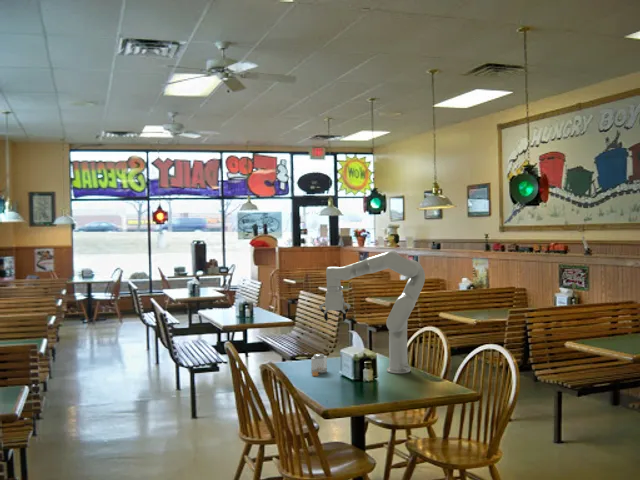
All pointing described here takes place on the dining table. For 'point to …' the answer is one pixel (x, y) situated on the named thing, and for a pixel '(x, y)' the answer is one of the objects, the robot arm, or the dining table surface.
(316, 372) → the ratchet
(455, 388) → the dining table surface
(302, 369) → the dining table surface
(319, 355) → the socket
